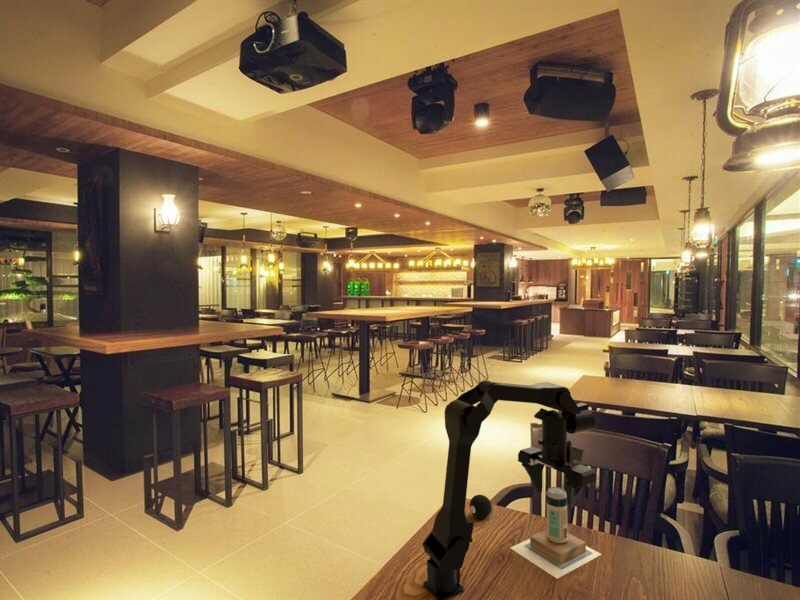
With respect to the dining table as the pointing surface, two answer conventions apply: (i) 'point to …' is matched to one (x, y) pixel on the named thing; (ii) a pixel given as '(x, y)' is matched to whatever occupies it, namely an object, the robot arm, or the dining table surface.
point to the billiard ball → (480, 506)
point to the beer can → (556, 515)
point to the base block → (558, 547)
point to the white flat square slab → (549, 564)
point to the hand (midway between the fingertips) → (555, 500)
